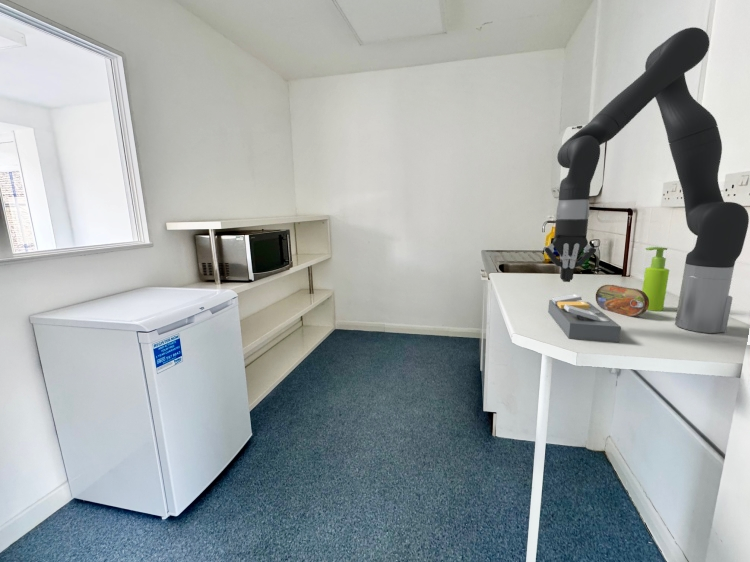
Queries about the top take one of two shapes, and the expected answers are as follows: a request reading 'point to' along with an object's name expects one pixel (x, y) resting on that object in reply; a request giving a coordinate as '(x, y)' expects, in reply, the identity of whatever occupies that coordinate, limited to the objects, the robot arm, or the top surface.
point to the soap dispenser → (656, 280)
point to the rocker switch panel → (585, 324)
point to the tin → (622, 300)
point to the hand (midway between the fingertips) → (565, 281)
